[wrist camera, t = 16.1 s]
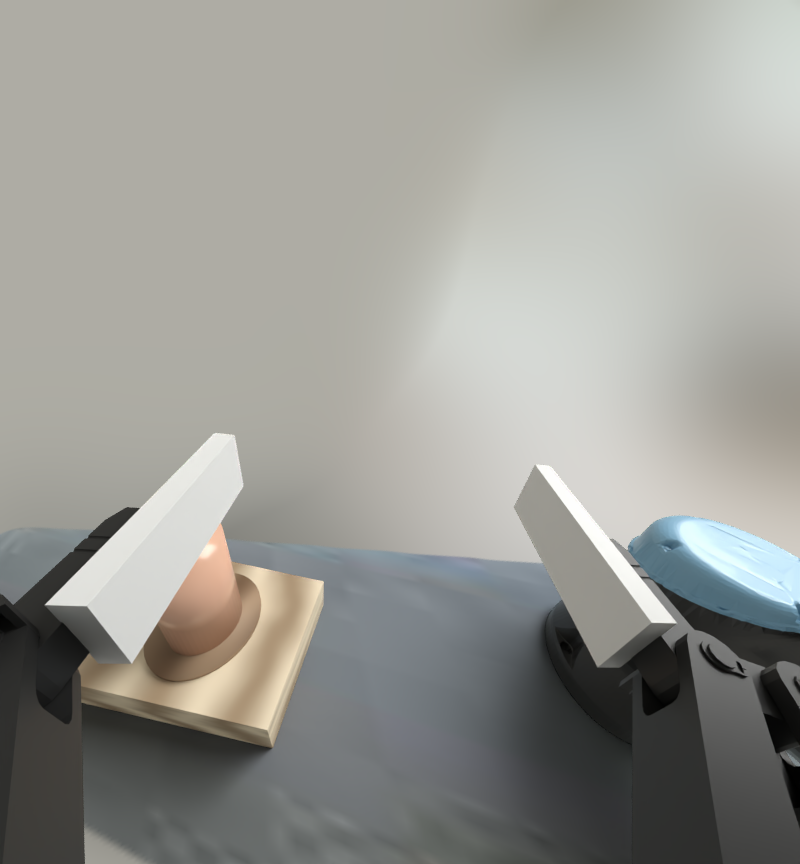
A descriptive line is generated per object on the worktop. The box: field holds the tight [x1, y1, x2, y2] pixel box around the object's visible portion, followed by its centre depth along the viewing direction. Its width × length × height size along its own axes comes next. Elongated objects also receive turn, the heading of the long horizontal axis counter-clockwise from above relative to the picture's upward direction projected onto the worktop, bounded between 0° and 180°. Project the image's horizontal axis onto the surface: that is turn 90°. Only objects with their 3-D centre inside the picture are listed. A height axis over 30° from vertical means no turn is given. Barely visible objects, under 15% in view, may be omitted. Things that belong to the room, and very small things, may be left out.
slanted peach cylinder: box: [157, 523, 242, 656], centre depth 26 cm, size 6×6×12 cm
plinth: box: [78, 562, 324, 748], centre depth 31 cm, size 20×13×6 cm, turn 83°
